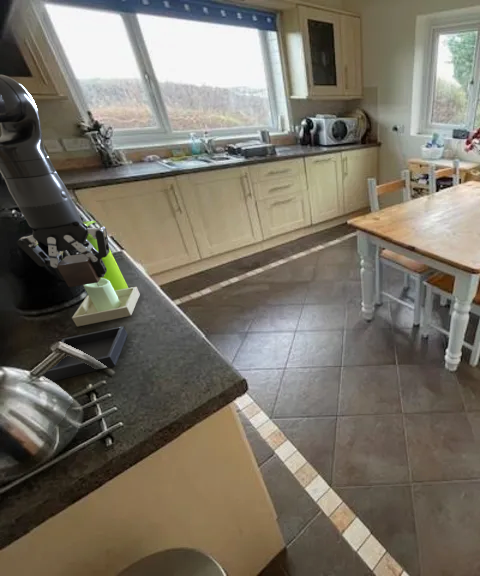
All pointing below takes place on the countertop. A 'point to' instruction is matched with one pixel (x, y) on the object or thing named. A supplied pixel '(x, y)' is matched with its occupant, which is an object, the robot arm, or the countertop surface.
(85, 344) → the charcoal tray
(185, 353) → the countertop surface
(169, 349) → the countertop surface
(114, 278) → the soap dispenser
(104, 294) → the candle
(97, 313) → the cream tray
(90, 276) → the walnut block
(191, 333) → the countertop surface
